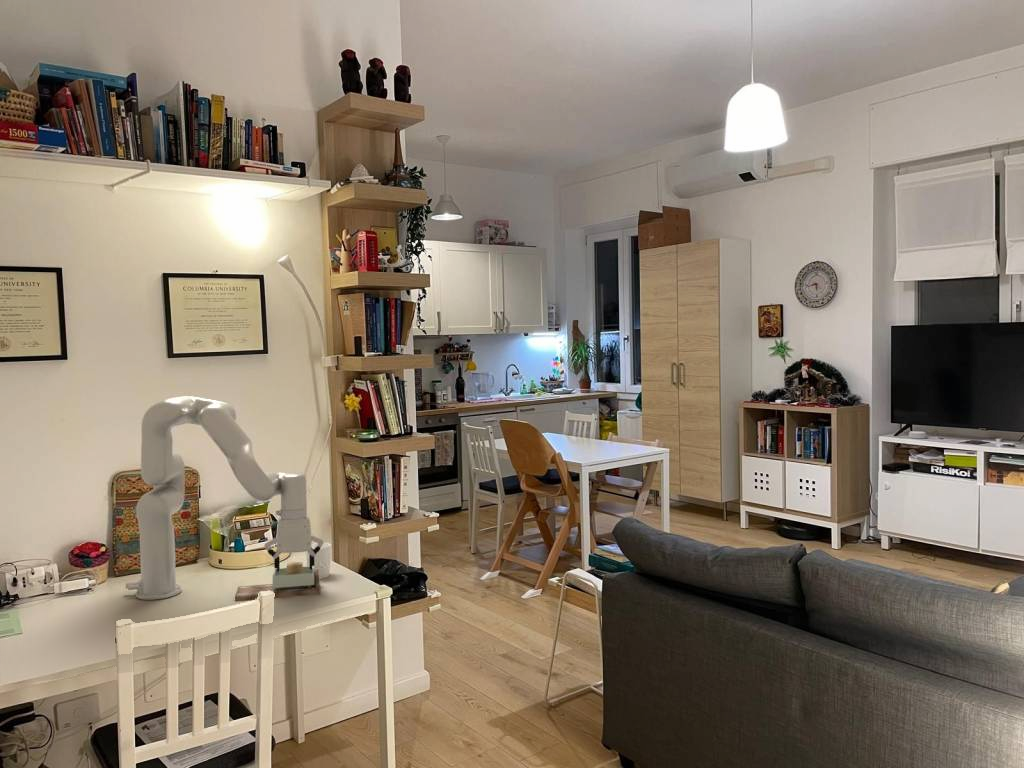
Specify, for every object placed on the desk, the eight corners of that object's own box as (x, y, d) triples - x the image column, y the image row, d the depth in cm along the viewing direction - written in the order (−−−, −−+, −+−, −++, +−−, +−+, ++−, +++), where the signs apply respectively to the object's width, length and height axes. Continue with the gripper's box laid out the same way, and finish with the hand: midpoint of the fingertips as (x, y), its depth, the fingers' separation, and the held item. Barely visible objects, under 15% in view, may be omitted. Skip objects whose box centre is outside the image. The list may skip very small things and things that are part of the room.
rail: (235, 600, 227) (234, 584, 226) (238, 590, 236) (237, 574, 236) (319, 593, 233) (319, 578, 232) (319, 584, 242) (318, 569, 242)
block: (286, 583, 233) (286, 566, 233) (287, 578, 237) (287, 562, 237) (302, 582, 234) (302, 565, 234) (302, 577, 238) (302, 561, 238)
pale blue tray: (272, 592, 230) (272, 576, 230) (274, 584, 238) (273, 568, 238) (314, 588, 233) (314, 573, 233) (314, 580, 241) (314, 565, 241)
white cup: (325, 580, 246) (325, 549, 246) (302, 579, 248) (301, 548, 247) (335, 572, 254) (334, 542, 254) (312, 571, 256) (311, 542, 255)
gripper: (263, 518, 229) (264, 574, 230) (323, 514, 233) (323, 570, 234) (264, 512, 236) (265, 567, 237) (323, 509, 240) (323, 564, 241)
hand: (294, 569), depth 235 cm, fingers open, 9 cm apart
